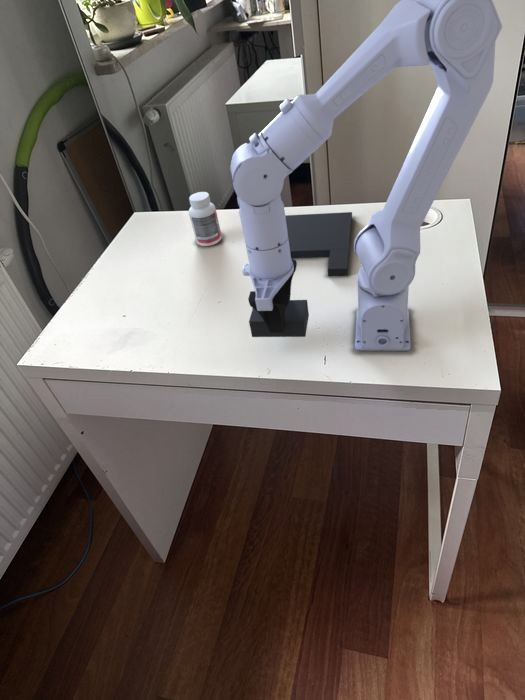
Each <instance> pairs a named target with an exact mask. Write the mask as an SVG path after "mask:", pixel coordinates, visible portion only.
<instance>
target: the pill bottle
mask: <svg viewBox="0 0 525 700" xmlns="http://www.w3.org/2000/svg"><path fill="white" fill-rule="evenodd" d="M188 200H189V205H190V207H189V209H188V215H189V219H190V223H191V227H192V230H193V234H194V238H195V242H196V244H197V245H199V246H202V247H211V246H214V245H216V244H218V243H219V242H220V241H221V240H222V238H223V236H222V231H221V227H220V222H219V219H218V213H217V208H216V206H215V204H214V203H213V202H211V197H210V194H209V193H208V192H207V191H198V192H195V193H193V194H191V195H190V196H189V197H188Z"/></svg>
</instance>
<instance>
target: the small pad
mask: <svg viewBox="0 0 525 700" xmlns="http://www.w3.org/2000/svg"><path fill="white" fill-rule="evenodd" d="M309 316H310V313H309V305H308V299H290V300H289V303H288V305H287V307H286V311H285V328H284V332H283V333H270V331H269V330H268V328H267V326H266V324H265V322H264V321H263V319H262V317H261V316H260V314H259V313H258V312H257V311H256V310H255V309H254V308H252V310H251V313H250V317H249V320H248V325H249V328H250V333H251V338H306V336H307V331H308V330H307V329H308V324H309V323H308V322H309V318H310V317H309Z"/></svg>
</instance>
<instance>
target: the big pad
mask: <svg viewBox="0 0 525 700" xmlns="http://www.w3.org/2000/svg"><path fill="white" fill-rule="evenodd" d="M285 217H286V225H287V232H288V239H289V247H290V254H291V259H298V258H300V259H301V258H302V259H304V258H328V265H327V276H328V277H341V276H344V277H345V276H346V277H347V276H349V275H348V274H349V262H350V251H351V249H350V248H351V240H352V239H351V238H352V237H351V236H352V225H353V212H352V211H347V212H345V211H344V212H343V211H342V212H324V213H308V214H305V213H304V214H287V215H286V214H285Z"/></svg>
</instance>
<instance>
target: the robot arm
mask: <svg viewBox="0 0 525 700" xmlns="http://www.w3.org/2000/svg"><path fill="white" fill-rule="evenodd" d="M493 1H494V0H400V1H398V2H397V3H396V4H395V5H394V6H393V7H392V8H391V10H390V11H389V13H388V14H387V15H386V16H385V18H384V19H383V20H382V21H381V23H380V24H378V26H376V28H375V29H374V30H373V31H372V33H370V35H368V36H367V38H366V39H365V40H364V41H363V42H362V43H361V44H360V45H359V46H358V47H357V49H356V50H355V51H354V52H353V53H352V54H351V55H350V56H349V57H348V58H347V59H346V61H345V62H343V64H342V65H341V66H340V67H339V68H338V69H337V70H336V71H335V72H334V73H333V74H332V76H330V77H329V79H328V80H327V81H326V82H325V83H324V84H323V85H322V86H321V87H320V88H319V89H318V90H317V91H316V93H310V94H298V95H296V97H295V98H294V99H293V100H292V101H291V100H290V99H289V98H286V99H285V100H284V101H283V102H282V103H281V104H280V105H279V107H278V108H279V109H280V112H279V113H278V114H277V115H276V116H275V118H273V120H271V121H270V122H269V124H267V125H266V126H265V127H264V128H263V129H262V130H261V131H260V132H259V133H258V134H257V132H254V133H253V134H252V135H251V136H250V137H249V143H247V142H245V143H243V144H241V145H240V146H239V147H238V148H236V150H235V151H234V153H233V154H232V157H231V160H230V166H229V170H230V173H231V180H232V188H233V190H234V192H235V194H236V196H237V197H236V200H237V205H238V207H239V208H238V214H239V219H240V224H241V228H242V233H243V239H244V244H245V249H246V254H247V259H248V263H245V264H244V265H243V267H242V275H243V276H245V277H250V279H251V284H252V286H253V290H252V291H250V292H249V295H248V298H247V300H248V305H249V306H250V307H251V308H252V309H253V308H254V309H255V310H256V311H257V312H258V313H259V314H260V316H261V317H262V319H263V321H264V322H265V324H266V326H267V328H268V330H269V331H270V333H283V332H284V328H285V311H286V307H287V305H288V303H289V300H291V294H292V293H291V292H292V282H293V277H294V275H295V273H296V270H297V265H298V262H297V260H296V259H295V258H291V254H290V247H289V239H288V232H287V225H286V217H285V215H286V210H285V204H284V201H283V200H282V196H281V193H282V192H283V189H284V185H285V179H286V177H287V176H290V174H292V173H293V172H294V171H295V170H296V169H297V168H299V166H301V164H302V163H304V162H305V161H306V160H307V159H308V158H309V157H311V155H312V154H313V153H315V152H316V151H317V150H318V149H319V148H320V147H321V146H322V145H323V144H324V143H325V142H326V141H328V139H330V138H331V137H332V134H333V126H334V122H335V119H336V118H337V117H339V115H340V114H342V113H343V112H344V111H345V110H346V109H347V108H348V107H350V106H351V105H352V104H353V103H355V102H356V101H357V100H358V99H359V98H360V97H361V96H363V95H364V94H365V93H366V92H368V91H369V90H370V89H371V88H372V87H373V86H375V85H376V84H377V83H378V82H380V81H381V80H382V79H383V78H384V77H385V76H386V75H388V74H389V73H390V72H391V71H392V70H394V69H396V68H404V67H420V66H421V67H422V66H428V65H430V67H431V70H432V72H433V75H434V77H435V80H436V82H437V88H436V90H435V93H434V95H433V97H432V99H431V101H430V104H429V105H428V108H427V111H426V113H425V115H424V117H423V119H422V122H421V124H420V126H419V128H418V131H417V133H416V135H415V137H414V139H413V141H412V144H411V146H410V148H409V151H408V153H407V155H406V158H405V160H404V162H403V164H402V166H401V169H400V171H399V173H398V174H397V175H398V176H397V178H396V180H395V182H394V184H393V186H392V188H391V190H390V193H389V195H388V198H387V200H386V202H385V204H384V206H383V208H382V209H381V210H378V211H375V212H374V213H373V214H372V215H371V217H370V220H369V221H368V223H367V224H366V225H365V227H363V228H362V229H361V230H360V231H359V232H358V234H357V235H356V236H355V239H354V241H353V251H354V253H355V255H356V257H357V258H358V260H359V262H360V264H361V266H360V268H359V271H358V273H357V277H356V279H357V307H358V308H357V309H356V317H355V318H356V321H355V338H354V350H355V351H395V352H396V351H400V352H401V351H404V352H405V351H406V352H407V351H411V348H412V344H411V343H412V342H411V326H410V325H411V324H410V310H409V308H408V306H409V290H410V289H409V287H410V285H411V284H412V282H413V281H414V279H415V276H416V265H417V264H416V263H417V261H418V258H419V256H420V254H421V227H422V225H423V223H424V221H425V219H426V218H427V215H428V213H429V211H430V209H431V207H432V205H433V203H434V202H435V200H436V198H437V195H438V193H439V191H440V190H441V188H442V187H443V186H442V185H443V184H444V181H445V180H446V178H447V176H448V173H449V172H450V170H451V168H452V166H453V164H454V162H455V160H456V158H457V156H458V154H459V152H460V150H461V148H462V146H463V144H464V142H465V140H466V139H467V136H468V135H469V132H470V131H471V129H472V127H473V125H474V123H475V121H476V119H477V117H478V115H479V113H480V112H481V109H482V108H483V105H484V103H485V102H486V99H487V97H488V95H489V93H490V91H491V88H492V86H493V83H494V73H495V57H496V56H495V55H496V41H497V39H498V37H499V35H500V33H501V31H502V29H503V24H502V21H501V18H500V17H499V14H498V11H497V9H496V5H495V3H494V2H493Z"/></svg>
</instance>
